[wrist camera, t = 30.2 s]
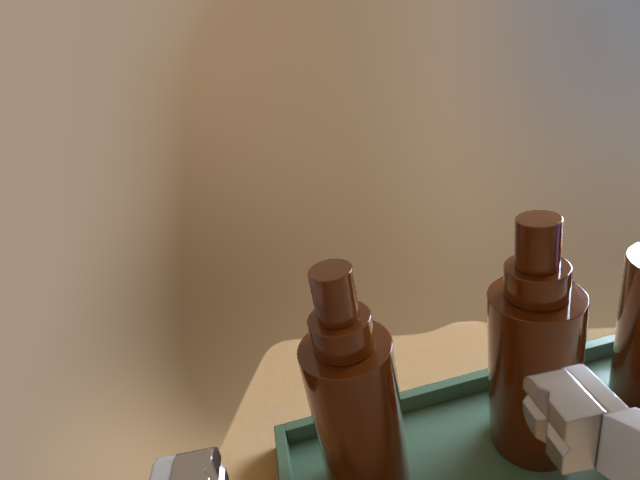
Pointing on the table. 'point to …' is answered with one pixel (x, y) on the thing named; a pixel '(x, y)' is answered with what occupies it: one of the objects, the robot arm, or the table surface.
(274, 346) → the table surface
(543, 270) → the row bottle
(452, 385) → the tray
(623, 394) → the row bottle
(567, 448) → the robot arm
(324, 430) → the amber bottle
